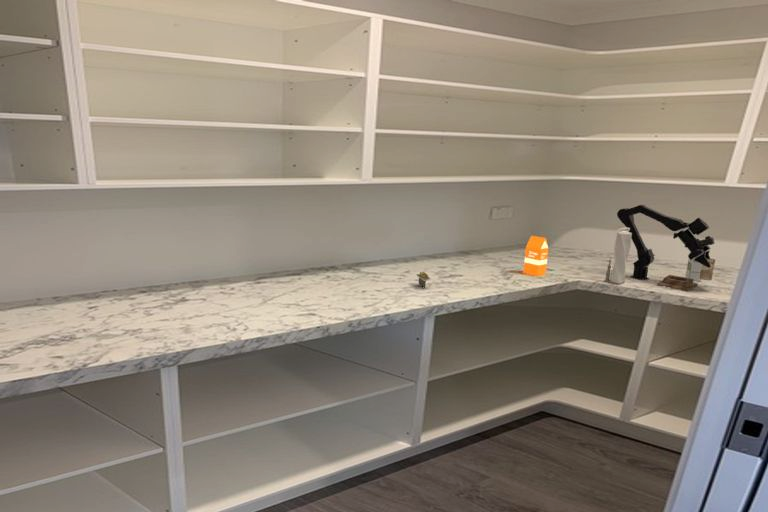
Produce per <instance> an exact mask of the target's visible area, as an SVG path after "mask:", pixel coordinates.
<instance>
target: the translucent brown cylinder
mask: <svg viewBox="0 0 768 512" xmlns="http://www.w3.org/2000/svg"><path fill="white" fill-rule="evenodd" d="M706 259H707V260H708V262H709V264H710V265H711V267H710V268H708V267H706V266H704V265H703V264H702V267H701V273H700V279H701V280H703V281H712V280H713V276H714V275H713V274H714V269H715V263H716V259H714V258H711V257H710V258H706Z"/></svg>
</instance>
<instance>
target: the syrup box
mask: <svg viewBox="0 0 768 512" xmlns="http://www.w3.org/2000/svg"><path fill="white" fill-rule="evenodd" d="M689 254H690V252H689V253H688V255H689ZM693 259H695V258H693ZM693 259H692V260H690V259H689V258H688V260H687V264H686V265H687V267H686V271H685V278H690V279H693V282H697V281H700V282H701V280H702V279H700V273H701V267H702V264H701V263H699V262H697V261H695V260H693Z"/></svg>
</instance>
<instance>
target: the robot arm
mask: <svg viewBox="0 0 768 512" xmlns="http://www.w3.org/2000/svg"><path fill="white" fill-rule="evenodd" d="M637 214H642V215H644V216H646V217H649V218H651V219H653V220H655V221H656V222H659V223H661V224H662V225H664V226H665V227H666V228H667V229H669V230H670V231H672V232H674V233H673V239H674V240H675V239H677V238H678V239H679V240H680V241H681V242H682V244H684V247H685V248H687V249H688V251H689V253H690V254H689V253H688V255H687V257H688V259H690V260H692V259H693V258H695V259H693V260H695V261H697V262H699V263H701V264H703V265H704V266H706V267H708V268H710V267H711V265H710V264H709V262H708V260H707V259H706V258H710V259H711V257H710V252H711V251H710V250H711V247H710V246H711V245H714V244H715V239H714V238H713V237H711V236H710V235H708V236H704V237H705V238H704V239H699V238H696V237H695V235H697V236H699V235H701V234H702V233H704V232H705V231H707V230H708V229H710V226H709V225H708V223H706V222H705V221H704V220H703V219H702V218H700V217H697V218H696V219H695V220H693V221H691V222H690V223H688V222H685V221H684V220H682V219H680V218H676V217H673V216H667V215H666V214H663V213H661V212H659V211H656V210H655V209H652V208H650V207H648V206H646V205H644V204H639V205H637V206H633V207H631V208H630V207H628V208H627V207H624V208H621V209H619V210H618V211H617V213H616V215H617V216H616V217H617V218H618V219H619V221H620V222H621V223H622V224H623V225H624V226H625V228H630V230H629V231H628V229H626V231H628V232H630V233H632V237H631V242H632V243H633V245H634V247H635V249H636V252H637V253H636V254H637V260H635V262H633V273H632V275H630V277H631V278H633V279H637V280H649V277H648V273H649V266H650V264H652V263H653V262H654V261H655V256H656V255H655V254H654V253H653V250H652V248H649V249H648V248H647V247H646V245H645V243H644V241H643V238H642V236H641V234H640V232H639V230H638V228H637V226H636V224H635V217H634V215H637ZM684 229H685V230H684ZM677 231H679V232H677Z"/></svg>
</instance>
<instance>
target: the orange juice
mask: <svg viewBox="0 0 768 512" xmlns="http://www.w3.org/2000/svg"><path fill="white" fill-rule="evenodd" d="M524 255H525V256H524V266H523V274H525V273H526V274H525V275H529V274H530V275H531V276H533V275H534V276H535V277H537V276H538V277H541V276H546V274H547V273H546V272H547V265H548V257H549V256H548V255H549V245H548V241H547V238H546V237H542V236H536V235H531V236H530V238H529V240H528V242H527V244H526V246H525V253H524ZM530 275H529V276H530Z"/></svg>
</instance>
